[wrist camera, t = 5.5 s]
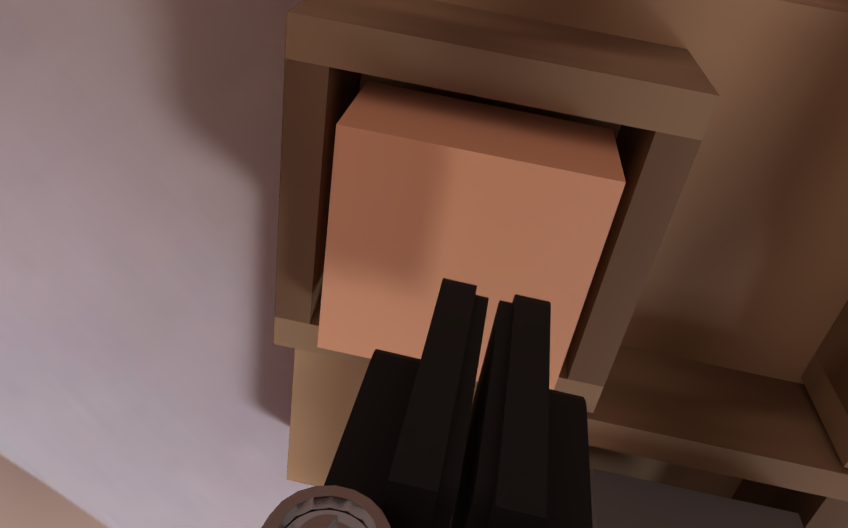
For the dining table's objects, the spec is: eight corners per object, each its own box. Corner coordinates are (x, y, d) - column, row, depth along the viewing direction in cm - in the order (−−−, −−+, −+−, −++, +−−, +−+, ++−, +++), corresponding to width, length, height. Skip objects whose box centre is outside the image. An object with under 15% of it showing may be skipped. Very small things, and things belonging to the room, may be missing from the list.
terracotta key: (613, 129, 13) (625, 182, 11) (549, 325, 16) (550, 397, 14) (367, 80, 13) (336, 124, 11) (345, 282, 16) (317, 347, 14)
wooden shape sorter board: (1321, 88, 14) (1643, 191, 10) (897, 566, 24) (974, 724, 19) (346, -95, 15) (271, -69, 11) (304, 435, 24) (254, 559, 20)
